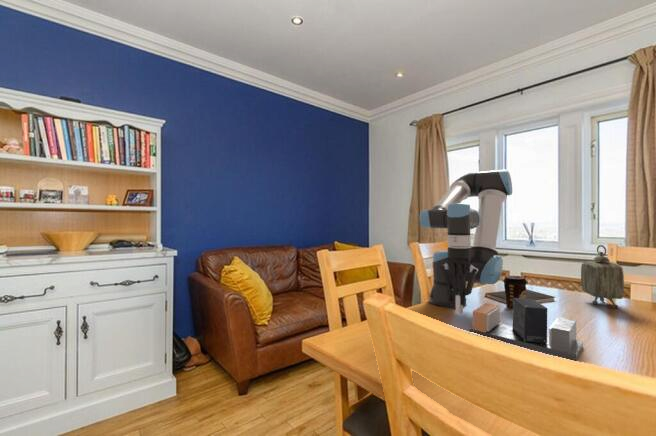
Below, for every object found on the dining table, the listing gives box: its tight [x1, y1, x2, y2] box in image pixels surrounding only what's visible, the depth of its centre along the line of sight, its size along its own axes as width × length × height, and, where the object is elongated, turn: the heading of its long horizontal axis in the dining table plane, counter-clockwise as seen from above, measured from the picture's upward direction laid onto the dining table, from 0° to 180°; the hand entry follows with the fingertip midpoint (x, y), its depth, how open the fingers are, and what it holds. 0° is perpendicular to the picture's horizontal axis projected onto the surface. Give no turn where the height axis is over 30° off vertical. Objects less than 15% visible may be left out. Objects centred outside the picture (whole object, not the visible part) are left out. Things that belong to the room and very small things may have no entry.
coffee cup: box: [502, 275, 529, 311], centre depth 129 cm, size 9×8×13 cm
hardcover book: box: [484, 288, 556, 304], centre depth 144 cm, size 16×23×2 cm
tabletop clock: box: [580, 244, 625, 309], centre depth 132 cm, size 14×9×25 cm, turn 162°
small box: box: [511, 298, 548, 343], centre depth 97 cm, size 11×6×10 cm, turn 167°
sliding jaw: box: [472, 303, 501, 333], centre depth 105 cm, size 5×12×6 cm, turn 135°
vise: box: [468, 316, 584, 362], centre depth 98 cm, size 28×12×8 cm, turn 45°
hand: (459, 313), depth 112 cm, fingers closed
